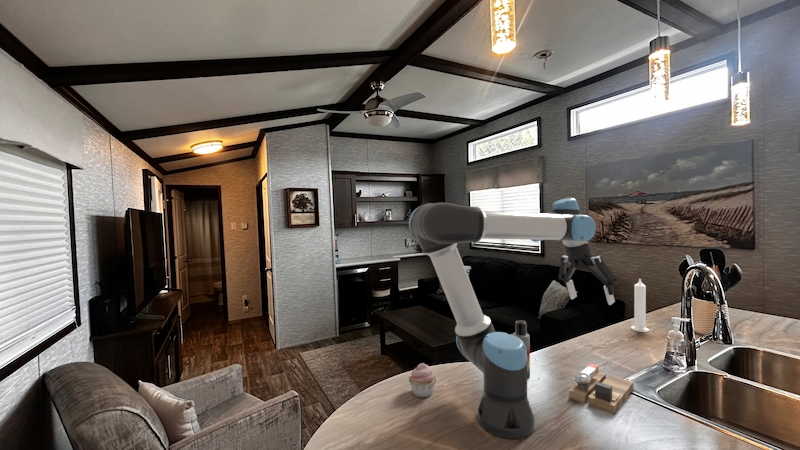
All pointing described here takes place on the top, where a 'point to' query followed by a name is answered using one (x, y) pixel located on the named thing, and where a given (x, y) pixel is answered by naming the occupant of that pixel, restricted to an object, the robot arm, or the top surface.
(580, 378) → the latch arm
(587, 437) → the top surface
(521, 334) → the lotion bottle
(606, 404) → the door boards
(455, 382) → the top surface
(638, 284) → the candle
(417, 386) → the cupcake
